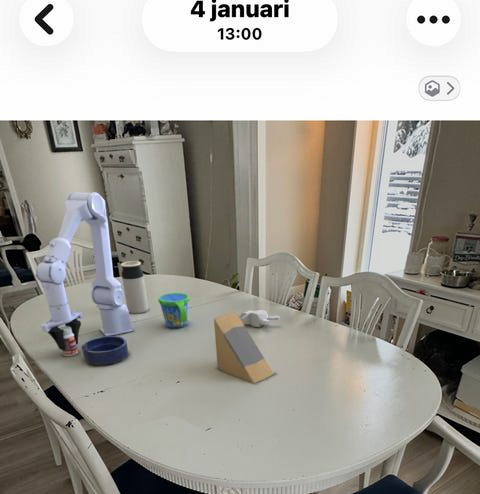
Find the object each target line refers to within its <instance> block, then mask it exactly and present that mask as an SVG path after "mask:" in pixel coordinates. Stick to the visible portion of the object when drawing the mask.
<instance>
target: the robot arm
mask: <svg viewBox="0 0 480 494" xmlns="http://www.w3.org/2000/svg"><path fill="white" fill-rule="evenodd" d="M64 206H65V213H64V217H63V220H62V224H61V227H60V228H59V229H60V230H59V233H58V236H57V237H55V238H52V239H51V240H50V241H49V245H48V249H47V251H46V254H45V256H44V258H43V261H41V262H40V263H39V264H38V265H37V266H36V270H35V271H36V273H35V277H36V279H37V280H38V281H39V282H40V283H41V287H42V288H43V291H44V293H45V298H46V302H47V305H48V309H49V312H50V316H51V317H50V319H49V320H48V321H46V322H44V323H42V324H40V327H41V331H42V332H44V333H47V334H49V336H51V338H52V339H53V340H54V342H55V343H56V345H57V348H58V349H59V350H61V351H62V350H65V343H64V337H63V332H64V330H62V329H60V327H62V326H63V325H65V326H69V327H71V329H72V333H73V334H74V337H75V341H76V345H79V334H80V333H79V332H80V328H81V326H82V321H80V320H79V319H83V318H84V315H83V311H80V310H76V311H72V312H71V309H70V304H69V300H68V296H67V293H66V289H65V284H64V281H65V280H66V278H67V270H66V269H67V262H68V261H69V257H70V255H71V252H72V246H71V241H72V239H73V237H74V236H75V233H76V232H77V229H78V228H79V225H80V224H81V222H83V221H84V222H86V223H87V224H88V225H89V227H90V233H91V242H92V250H93V258H94V266H95V275H96V277H95V279H94V280H93V281H92V282H91V293H90V294H91V300H92V302H93V303H94V304H96V307H97V308H98V309H99V310H98V311H99V315H100V321H101V325H102V328H100V331H101V332H102V333H103V334H104V336H117V335H121V334H125V333H126V334H127V333H130V332H133V328H132V322H131V316H130V312H129V311H128V308H127V304H125V303H124V301H125V293H124V290H123V289H122V284H121V282H120V281H119V280H118V279H116V277H114V269H113V260H112V249H111V240H110V231H109V221H108V216H107V208H106V200H105V199H104V198H103V197H102V196H101V194H100V193H98V192H96V191H94V192H93V191H92V192H76V191H72V192H70V193H69V194H68V195H67V197H66V200H65V202H64Z"/></svg>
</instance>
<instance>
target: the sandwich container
mask: <svg viewBox="0 0 480 494" xmlns="http://www.w3.org/2000/svg"><path fill="white" fill-rule="evenodd" d="M213 326H214V338H215V340H214V341H215V349H216V350H215V351H216V363H217V369H218V370H221V371H223V372H225V373H228V374H230V375H232V376H235V377H237V378H239V379H242V380H245V381H247V382H249V383H252V384H256V383H258V382H260V381H263V380H266V379H267V378H269V377H271V376H273V375H275V372H274V371H273V369H272V368H271V366H270V365H269V363H268V361H267V360H266V359H265V357H264V355H263V353H262V351H261V350H260V349H259V347H258V346H257V344H256V343H255V340H254V339H253V338H252V335H251V334H250V333H249V331H248V330H247V328H246V326H245V324H243V323H242V321H241V319H240V317H239V314H238V312H237V311H232V312H229V313H226V314H223V315H220V316H216V317H214V318H213Z"/></svg>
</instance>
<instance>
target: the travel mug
mask: <svg viewBox="0 0 480 494" xmlns="http://www.w3.org/2000/svg"><path fill="white" fill-rule="evenodd" d="M120 266H121V268H122V271H121V279H122V286H123V292H124V298H125V302H126V306H127V308H128V311H129V314H142V313H145V312H148V311H149V306H148V305H149V304H148V298H147V292H146V291H147V290H146V284H145V278H144V271H143V270H142V268H141V261H138V260H130V261H123V262H121V263H120Z"/></svg>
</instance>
